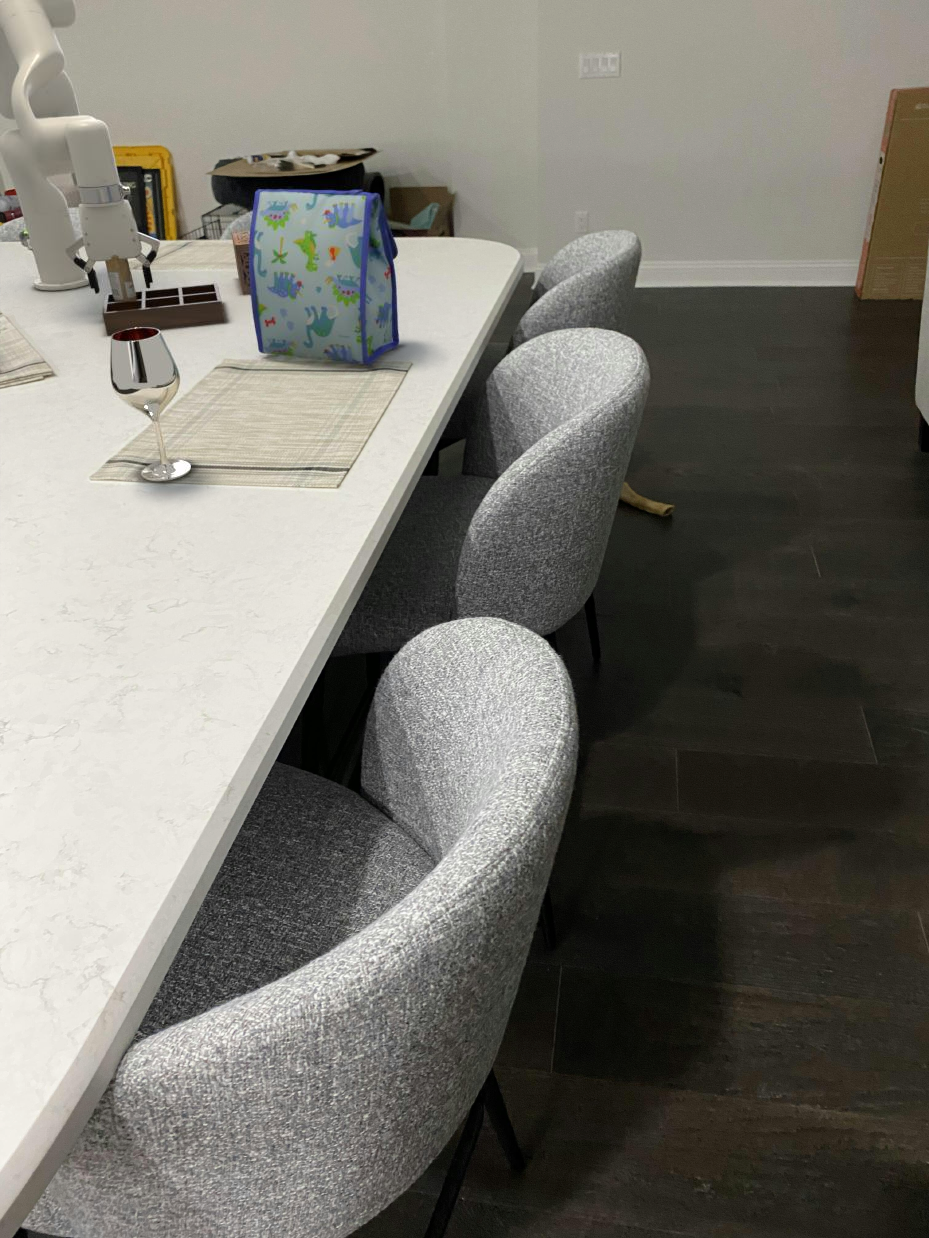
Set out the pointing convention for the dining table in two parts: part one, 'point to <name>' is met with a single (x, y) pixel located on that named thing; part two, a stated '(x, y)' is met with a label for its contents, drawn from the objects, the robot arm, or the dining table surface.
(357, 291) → the lunch bag
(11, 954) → the dining table surface
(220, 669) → the dining table surface
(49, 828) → the dining table surface
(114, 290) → the sprinkles bottle
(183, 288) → the tray
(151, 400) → the wineglass
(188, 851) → the dining table surface
